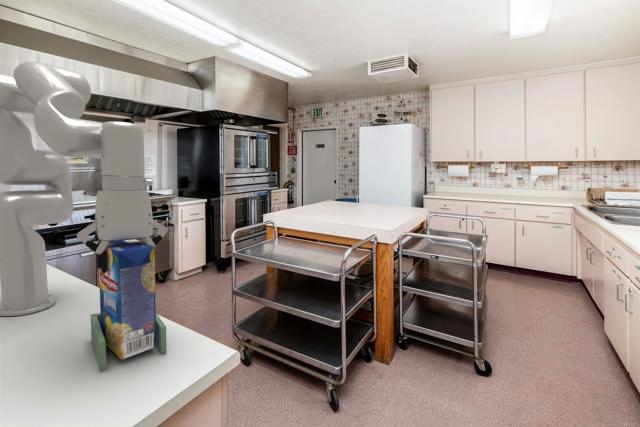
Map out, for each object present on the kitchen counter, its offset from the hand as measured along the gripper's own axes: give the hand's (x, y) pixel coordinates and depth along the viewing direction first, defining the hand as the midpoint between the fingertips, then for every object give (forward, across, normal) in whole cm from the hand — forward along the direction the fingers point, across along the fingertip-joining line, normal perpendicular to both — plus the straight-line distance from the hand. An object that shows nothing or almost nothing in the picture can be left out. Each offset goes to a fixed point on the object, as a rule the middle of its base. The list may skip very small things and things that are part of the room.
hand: (126, 268), depth 71 cm
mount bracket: (+18, 0, -1) cm, 18 cm away
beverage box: (+17, 0, 0) cm, 17 cm away
